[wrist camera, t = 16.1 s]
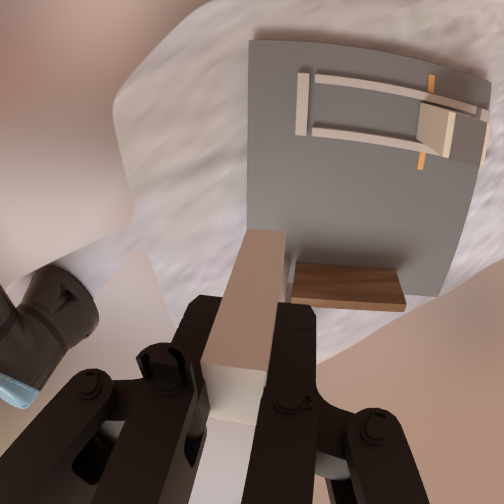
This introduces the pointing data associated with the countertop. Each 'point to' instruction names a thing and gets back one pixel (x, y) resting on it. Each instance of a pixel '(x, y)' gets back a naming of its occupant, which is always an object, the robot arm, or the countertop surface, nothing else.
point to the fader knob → (453, 134)
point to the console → (356, 159)
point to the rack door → (347, 288)
